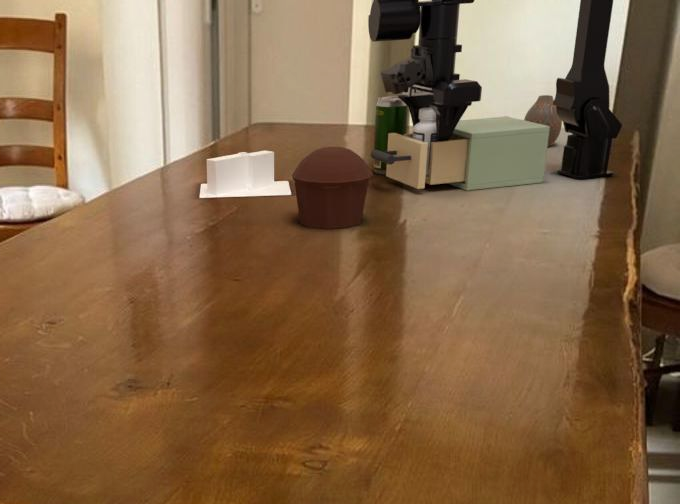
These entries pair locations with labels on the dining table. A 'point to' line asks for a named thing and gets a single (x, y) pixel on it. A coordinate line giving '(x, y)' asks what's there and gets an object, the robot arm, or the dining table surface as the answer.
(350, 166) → the muffin
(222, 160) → the napkin holder
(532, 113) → the vase
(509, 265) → the dining table surface
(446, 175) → the drawer
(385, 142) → the beer can
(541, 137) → the cabinet
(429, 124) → the pill bottle
